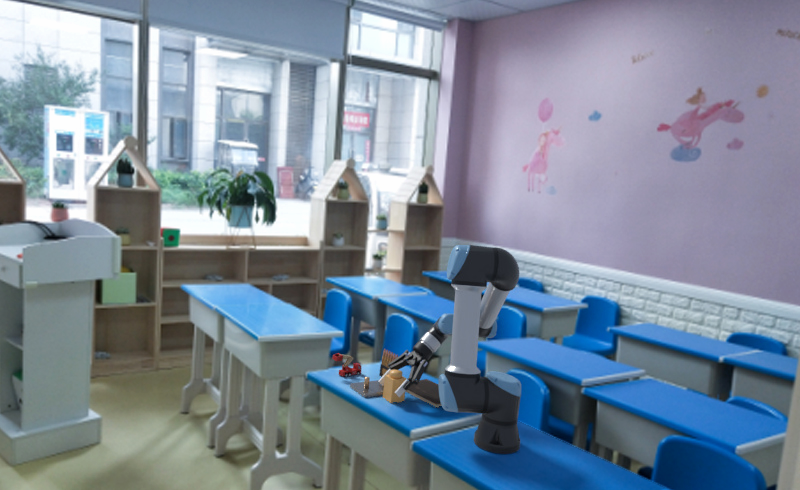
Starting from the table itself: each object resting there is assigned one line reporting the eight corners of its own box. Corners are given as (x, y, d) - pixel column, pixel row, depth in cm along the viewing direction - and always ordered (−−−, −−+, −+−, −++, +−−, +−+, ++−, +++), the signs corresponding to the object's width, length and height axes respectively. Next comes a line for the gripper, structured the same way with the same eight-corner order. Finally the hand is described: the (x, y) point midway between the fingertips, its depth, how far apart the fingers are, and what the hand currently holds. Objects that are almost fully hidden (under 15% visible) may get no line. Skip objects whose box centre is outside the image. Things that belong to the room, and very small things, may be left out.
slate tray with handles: (399, 393, 240) (401, 379, 239) (364, 397, 232) (365, 383, 231) (384, 383, 250) (386, 370, 249) (349, 386, 242) (351, 373, 241)
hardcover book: (435, 409, 228) (436, 403, 228) (397, 389, 246) (397, 383, 246) (465, 402, 238) (466, 397, 238) (427, 383, 256) (427, 378, 256)
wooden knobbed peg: (404, 401, 232) (407, 373, 230) (390, 403, 228) (393, 374, 227) (396, 395, 237) (398, 368, 235) (382, 397, 234) (385, 369, 232)
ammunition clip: (397, 383, 252) (400, 354, 251) (393, 383, 251) (396, 355, 249) (382, 374, 260) (385, 347, 259) (379, 375, 259) (381, 347, 258)
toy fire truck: (362, 374, 258) (364, 352, 257) (335, 378, 250) (337, 355, 249) (357, 372, 261) (359, 350, 260) (330, 376, 252) (332, 353, 251)
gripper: (449, 362, 229) (410, 406, 222) (414, 344, 249) (378, 384, 243) (439, 349, 225) (399, 394, 219) (404, 332, 246) (368, 372, 239)
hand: (388, 389), depth 231 cm, fingers open, 12 cm apart
